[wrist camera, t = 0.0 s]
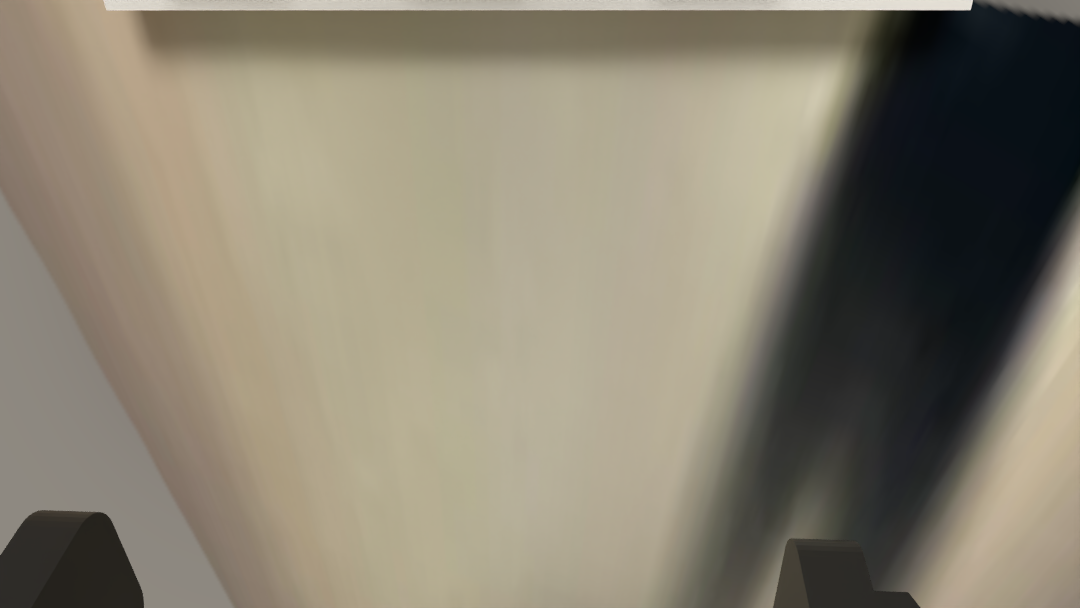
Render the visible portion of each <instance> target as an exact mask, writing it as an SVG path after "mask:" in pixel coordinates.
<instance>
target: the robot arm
mask: <svg viewBox="0 0 1080 608" xmlns="http://www.w3.org/2000/svg"><path fill="white" fill-rule="evenodd" d="M0 608H144V601H143V593H142V590H141V587H140V585H139V582H138V580H137V578H136V576H135V574H134V571H133V569H132V566H131V564H130V562H129V560H128V557H127V555H126V553H125V551H124V548H123V546H122V544H121V541H120V539H119V537H118V535H117V532H116V530H115V528H114V526H113V523H112V521H111V520H110V518H109V517H108V516H107V515H106V514H104V513H101V512H76V511H46V510H42V511H37V512H35V513H33V514H31V515H30V516H28V518H26V519H25V521H24V522H23V523H22V524H21V526H20V527H19V529H18V530H17V532H16V533H15V535H14V536H13V538H12V539H11V540H10V542H9V544H8V545H7V546H6V548H5V550H4V551H3V553H2V554H1V555H0ZM773 608H920V607H919V606H918V604H917V603H916V602H915V600H914V599H913V598H912V597H911V595H910V594H909V593H908V592H886V591H874V590H873V586H872V583H871V579H870V575H869V572H868V568H867V565H866V561H865V558H864V554H863V552H862V549H861V547H860V545H859V544H858V543H857V542H856V541H848V540H819V539H789V540H788V541H787V544H786V548H785V552H784V557H783V562H782V567H781V572H780V577H779V582H778V587H777V592H776V596H775V601H774V606H773Z"/></svg>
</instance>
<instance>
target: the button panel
mask: <svg viewBox="0 0 1080 608" xmlns="http://www.w3.org/2000/svg"><path fill="white" fill-rule="evenodd" d="M103 1H104V4H105V7H106V10H971V6H972V2H973V0H103Z"/></svg>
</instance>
